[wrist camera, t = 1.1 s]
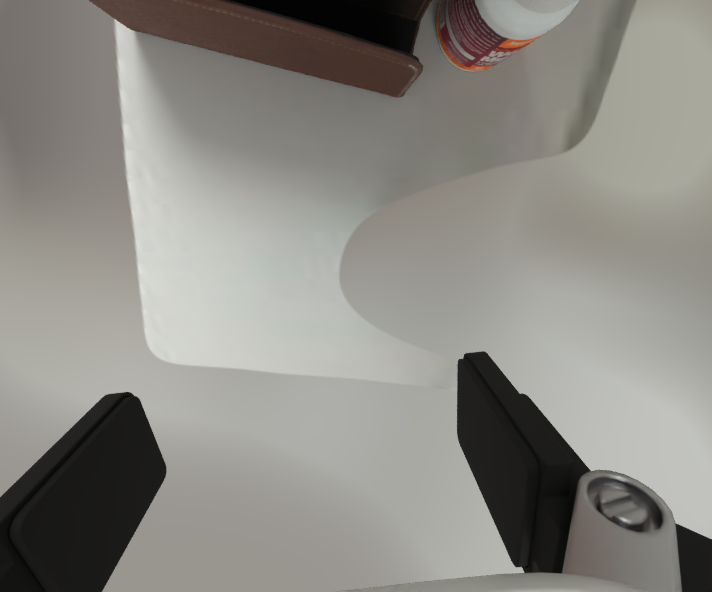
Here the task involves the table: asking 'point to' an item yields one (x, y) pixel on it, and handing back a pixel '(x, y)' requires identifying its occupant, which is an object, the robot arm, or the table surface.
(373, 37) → the letter holder
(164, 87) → the table surface
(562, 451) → the robot arm
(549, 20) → the pill bottle
